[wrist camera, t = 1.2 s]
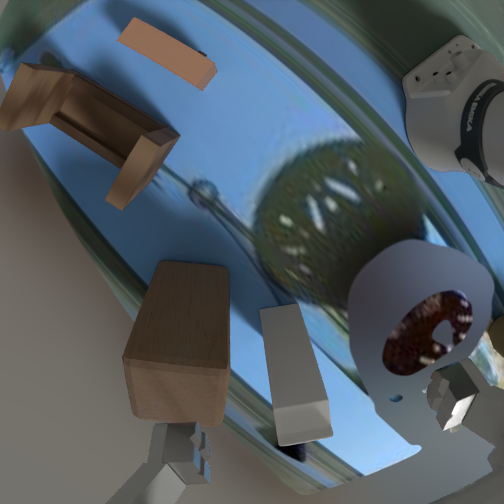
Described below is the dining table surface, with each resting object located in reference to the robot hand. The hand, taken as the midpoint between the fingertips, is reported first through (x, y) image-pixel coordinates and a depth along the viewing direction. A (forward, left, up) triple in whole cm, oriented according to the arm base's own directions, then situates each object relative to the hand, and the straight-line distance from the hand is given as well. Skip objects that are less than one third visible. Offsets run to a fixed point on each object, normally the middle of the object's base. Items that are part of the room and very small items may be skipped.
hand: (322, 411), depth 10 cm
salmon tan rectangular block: (-7, -17, -34) cm, 38 cm away
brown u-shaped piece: (+4, -20, -34) cm, 39 cm away
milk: (+15, +16, -34) cm, 40 cm away
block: (+18, +2, -34) cm, 38 cm away
